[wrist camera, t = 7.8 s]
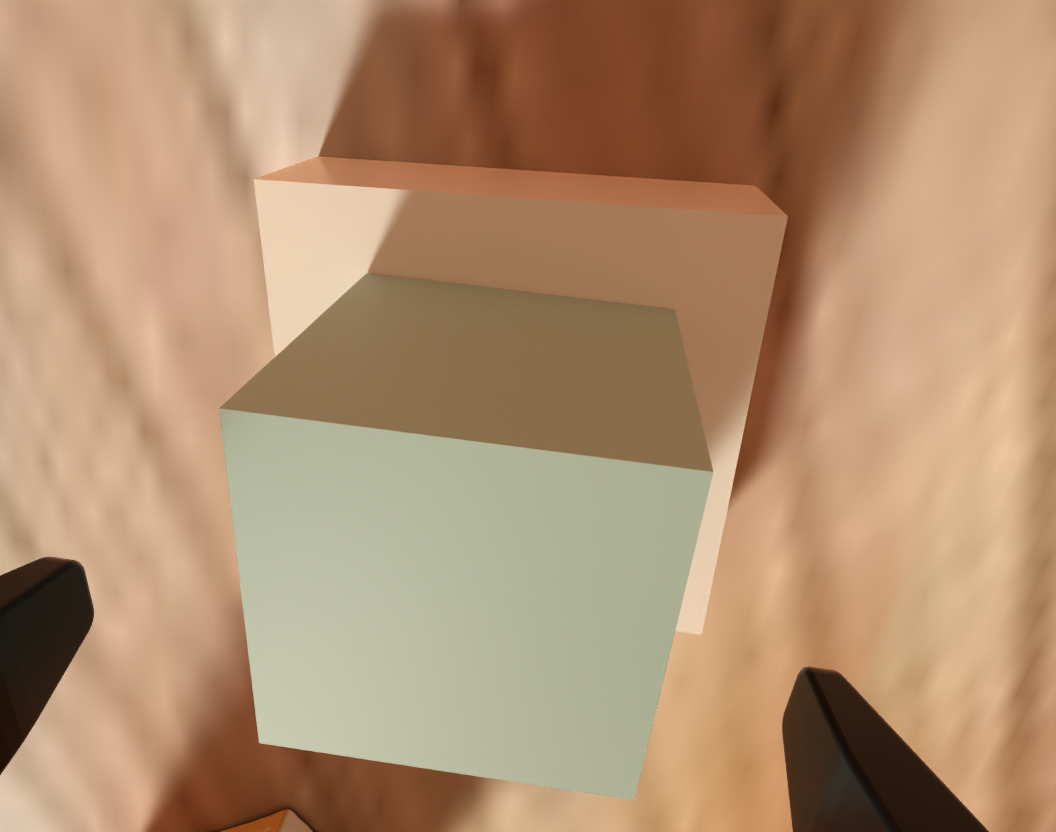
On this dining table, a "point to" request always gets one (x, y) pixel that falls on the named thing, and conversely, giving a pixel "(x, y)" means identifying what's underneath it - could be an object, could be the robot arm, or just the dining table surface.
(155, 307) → the dining table surface
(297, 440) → the sage cube
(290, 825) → the small box
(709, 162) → the dining table surface
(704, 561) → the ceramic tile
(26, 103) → the dining table surface
